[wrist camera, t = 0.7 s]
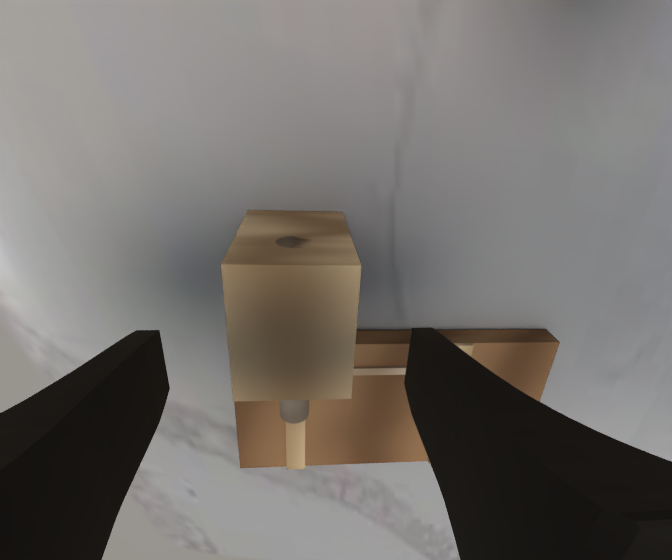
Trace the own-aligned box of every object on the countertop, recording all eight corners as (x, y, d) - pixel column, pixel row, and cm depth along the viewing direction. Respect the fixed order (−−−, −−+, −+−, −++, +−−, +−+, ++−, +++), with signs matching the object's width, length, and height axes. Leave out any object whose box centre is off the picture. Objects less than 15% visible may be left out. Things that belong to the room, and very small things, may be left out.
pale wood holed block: (342, 211, 17) (361, 265, 11) (334, 354, 20) (347, 450, 14) (248, 209, 16) (220, 264, 11) (256, 355, 19) (238, 454, 14)
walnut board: (545, 329, 20) (562, 344, 19) (510, 440, 23) (521, 460, 22) (233, 331, 19) (228, 348, 17) (243, 449, 22) (239, 471, 21)
